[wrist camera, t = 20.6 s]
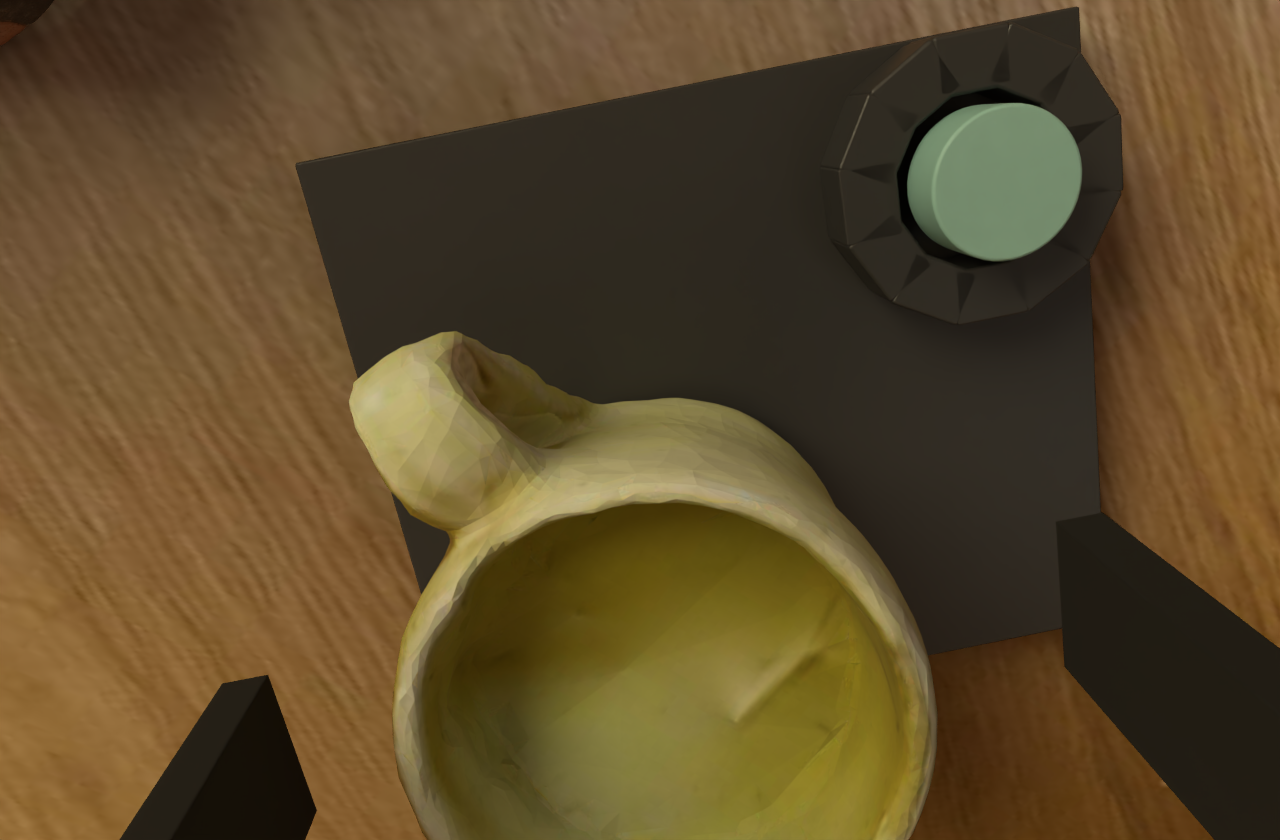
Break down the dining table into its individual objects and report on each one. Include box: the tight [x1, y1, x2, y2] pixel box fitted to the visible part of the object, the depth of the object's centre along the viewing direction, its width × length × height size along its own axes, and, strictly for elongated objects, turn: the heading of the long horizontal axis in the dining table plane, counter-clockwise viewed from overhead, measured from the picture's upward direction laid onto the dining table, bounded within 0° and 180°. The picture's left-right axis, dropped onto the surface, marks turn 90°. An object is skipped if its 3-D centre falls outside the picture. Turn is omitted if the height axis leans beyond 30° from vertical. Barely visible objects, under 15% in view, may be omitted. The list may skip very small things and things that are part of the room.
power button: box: [907, 103, 1082, 261], centre depth 19 cm, size 3×3×2 cm
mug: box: [349, 331, 938, 840], centre depth 19 cm, size 12×10×10 cm
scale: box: [296, 7, 1123, 655], centre depth 22 cm, size 17×15×3 cm
